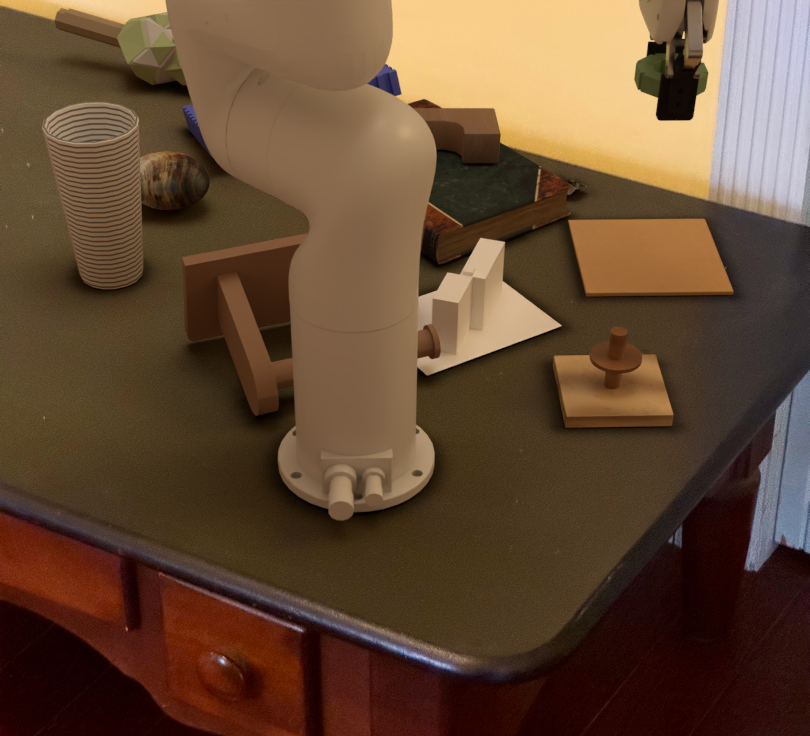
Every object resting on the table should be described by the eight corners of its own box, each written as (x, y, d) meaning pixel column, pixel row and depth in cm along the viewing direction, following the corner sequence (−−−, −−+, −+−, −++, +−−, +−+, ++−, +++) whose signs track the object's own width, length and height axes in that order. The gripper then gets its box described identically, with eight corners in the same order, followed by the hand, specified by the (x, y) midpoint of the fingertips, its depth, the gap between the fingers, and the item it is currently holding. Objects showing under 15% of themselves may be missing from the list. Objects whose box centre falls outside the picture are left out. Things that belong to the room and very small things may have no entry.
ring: (710, 99, 125) (713, 81, 123) (641, 99, 124) (643, 82, 123) (697, 70, 129) (699, 52, 128) (630, 70, 129) (632, 53, 128)
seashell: (154, 198, 153) (107, 213, 146) (149, 142, 150) (100, 156, 144) (229, 204, 149) (184, 221, 142) (225, 148, 146) (179, 162, 140)
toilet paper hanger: (226, 453, 123) (226, 381, 114) (185, 334, 129) (181, 257, 120) (460, 399, 128) (477, 327, 120) (410, 287, 134) (422, 211, 126)
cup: (83, 248, 142) (60, 97, 132) (167, 255, 141) (150, 104, 131) (54, 293, 136) (27, 139, 125) (142, 301, 135) (122, 146, 124)
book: (572, 217, 147) (425, 127, 162) (575, 184, 145) (426, 96, 160) (436, 267, 140) (295, 168, 155) (437, 234, 137) (294, 137, 152)
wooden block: (492, 137, 153) (351, 137, 152) (494, 107, 151) (350, 107, 150) (499, 163, 148) (352, 164, 147) (501, 133, 146) (352, 133, 145)
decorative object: (86, 35, 178) (264, 88, 172) (40, 68, 172) (224, 124, 166) (78, -35, 172) (264, 18, 166) (31, -3, 166) (222, 53, 159)
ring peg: (671, 426, 121) (682, 360, 117) (565, 428, 121) (572, 362, 116) (653, 365, 128) (663, 301, 123) (552, 366, 127) (558, 302, 123)
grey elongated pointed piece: (573, 199, 149) (588, 209, 151) (581, 178, 149) (596, 187, 151) (529, 190, 153) (545, 199, 155) (537, 168, 153) (552, 178, 155)
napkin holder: (489, 271, 139) (492, 217, 135) (563, 325, 132) (568, 270, 128) (358, 317, 133) (357, 262, 129) (428, 376, 126) (430, 320, 122)
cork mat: (733, 294, 137) (733, 291, 136) (586, 296, 136) (586, 293, 136) (704, 221, 147) (704, 218, 147) (567, 223, 147) (568, 219, 146)
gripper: (633, -145, 122) (611, 62, 134) (667, -74, 109) (640, 147, 121) (721, -145, 122) (691, 61, 134) (766, -75, 109) (729, 146, 121)
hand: (667, 100), depth 128 cm, fingers closed on ring, 6 cm apart
